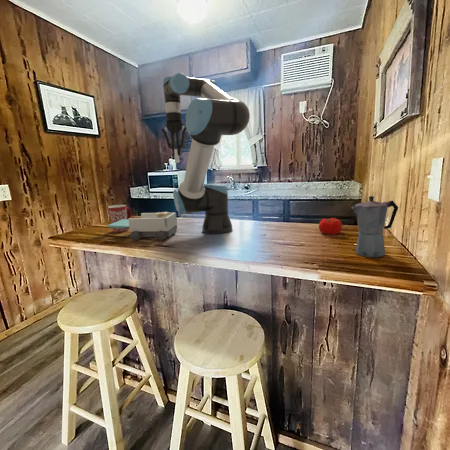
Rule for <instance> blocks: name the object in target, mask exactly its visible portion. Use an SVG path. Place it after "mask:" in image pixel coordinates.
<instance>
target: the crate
mask: <svg viewBox="0 0 450 450" xmlns="http://www.w3.org/2000/svg"><path fill="white" fill-rule="evenodd" d="M155 213H156V218H166V217H167V216H168V213H169V211H161V212H160V211H158V212H155Z"/></svg>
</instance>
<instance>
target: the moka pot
mask: <svg viewBox="0 0 450 450" xmlns="http://www.w3.org/2000/svg"><path fill="white" fill-rule="evenodd" d="M374 198H375V196H373V195H370V196H368V200H369V201H365V202H358V203H355V205H352V206H351V209H352V210H353V212H354V214H355V216H356V220H357V227H358V234H357V241H356V245H355V246H356V247H355V254H357V255H358V256H361V257H366V258H380V257H383V256H385V255H386V247H385V239H384V233H383V231H384V229H390V228H392V227H393V224H394V221H395V218H396V215H397V212H398V211H399V206H398V205H397V204H396V203H395V201H394V200H389V201H383V202H380V201H377V200H376V201H374ZM390 207H392V208H393V210H392V212H391V216H390V220H389V223H388V224H387V225H385V223H386V218H387V212H388V208H390Z"/></svg>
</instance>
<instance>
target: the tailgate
mask: <svg viewBox="0 0 450 450" xmlns="http://www.w3.org/2000/svg"><path fill="white" fill-rule="evenodd" d="M107 228H112V229H113V228H125V229H128V230H129V229H130V228H129V220H128V219H122V220H119V221H117V222H114V223H112V222H111V223H110V224H107Z"/></svg>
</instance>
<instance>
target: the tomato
mask: <svg viewBox="0 0 450 450" xmlns="http://www.w3.org/2000/svg"><path fill="white" fill-rule="evenodd" d="M318 229H319V232H321V233H322V234H324V235H329V236H333V235H337V234H339V233H340V232H342V229H343V223H342V221H341V220H340V219H337V218H336V217H331V218H330V217H329V218H322V219H321V220H320V221H319V223H318Z"/></svg>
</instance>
